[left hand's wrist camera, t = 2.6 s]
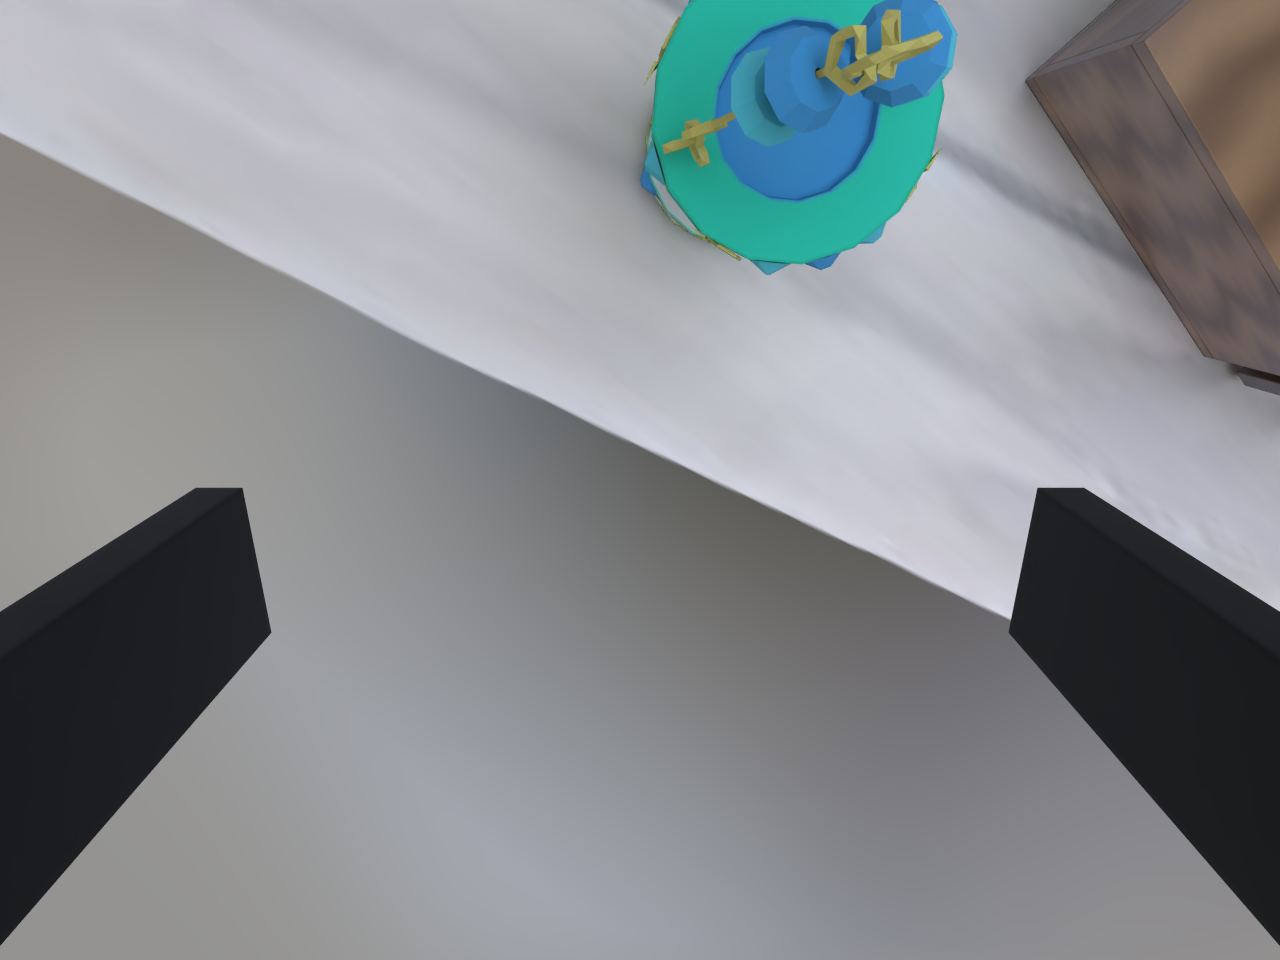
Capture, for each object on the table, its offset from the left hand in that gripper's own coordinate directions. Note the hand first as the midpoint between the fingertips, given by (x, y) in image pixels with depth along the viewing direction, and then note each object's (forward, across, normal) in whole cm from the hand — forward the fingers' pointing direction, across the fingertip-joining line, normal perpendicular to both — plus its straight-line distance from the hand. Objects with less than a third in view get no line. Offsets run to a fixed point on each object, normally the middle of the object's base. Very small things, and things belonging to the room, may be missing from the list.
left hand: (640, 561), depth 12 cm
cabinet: (+36, +33, +8) cm, 49 cm away
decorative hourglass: (+36, +5, +8) cm, 37 cm away
